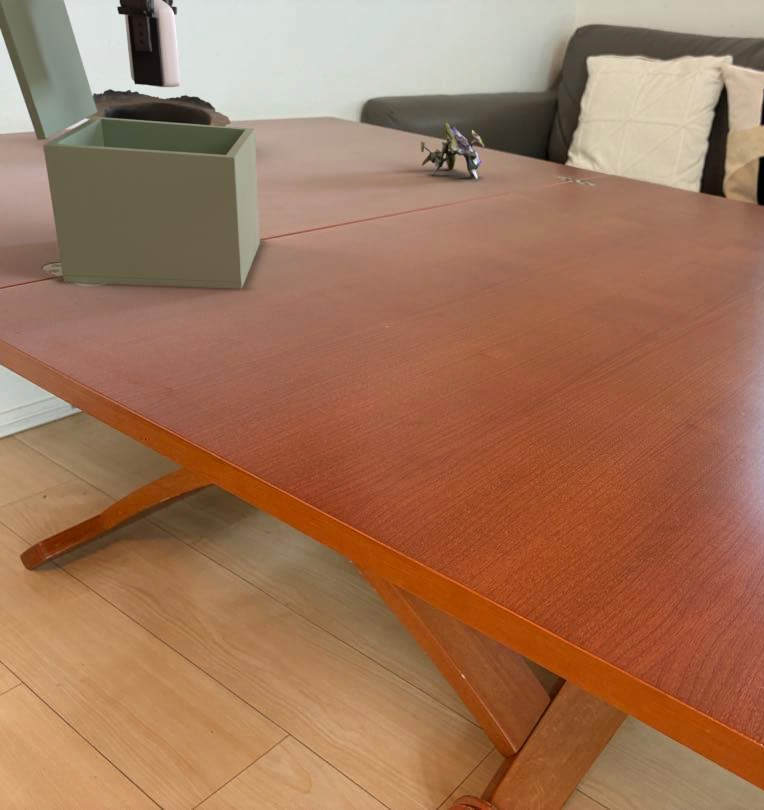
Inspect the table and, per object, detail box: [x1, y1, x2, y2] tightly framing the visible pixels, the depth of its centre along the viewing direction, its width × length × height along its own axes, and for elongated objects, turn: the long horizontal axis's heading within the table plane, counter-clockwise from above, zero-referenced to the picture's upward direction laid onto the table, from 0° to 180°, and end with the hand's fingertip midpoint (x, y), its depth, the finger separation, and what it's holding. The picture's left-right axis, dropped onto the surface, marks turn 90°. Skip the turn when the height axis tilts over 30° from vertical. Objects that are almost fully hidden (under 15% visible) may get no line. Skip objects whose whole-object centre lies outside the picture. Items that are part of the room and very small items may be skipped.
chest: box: [42, 117, 261, 290], centre depth 97 cm, size 18×18×14 cm
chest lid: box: [0, 0, 97, 141], centre depth 87 cm, size 19×18×1 cm
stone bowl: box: [85, 88, 231, 127], centre depth 150 cm, size 25×25×9 cm
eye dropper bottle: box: [124, 0, 181, 88], centre depth 88 cm, size 4×6×12 cm
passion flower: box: [420, 122, 486, 180], centre depth 157 cm, size 11×11×12 cm
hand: (155, 81), depth 91 cm, fingers closed on eye dropper bottle, 5 cm apart
